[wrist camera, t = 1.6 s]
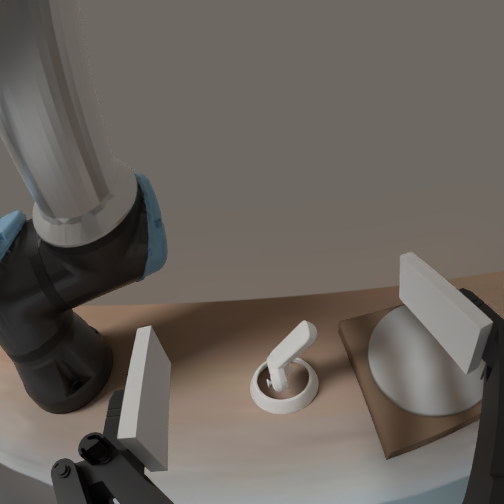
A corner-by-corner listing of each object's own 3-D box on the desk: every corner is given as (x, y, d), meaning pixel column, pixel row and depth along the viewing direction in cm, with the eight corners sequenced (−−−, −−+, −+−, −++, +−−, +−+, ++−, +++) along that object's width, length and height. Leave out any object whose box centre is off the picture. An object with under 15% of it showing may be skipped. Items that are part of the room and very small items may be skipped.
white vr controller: (374, 371, 27) (320, 373, 24) (303, 419, 34) (252, 424, 31) (347, 310, 33) (294, 302, 30) (287, 366, 39) (238, 364, 36)
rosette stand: (386, 459, 24) (392, 449, 22) (338, 332, 39) (338, 315, 37) (520, 394, 24) (531, 379, 22) (454, 298, 39) (458, 282, 37)
